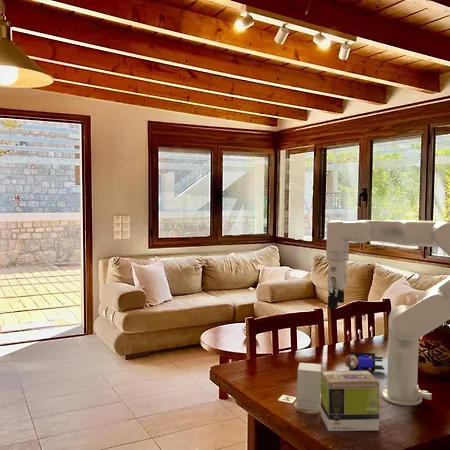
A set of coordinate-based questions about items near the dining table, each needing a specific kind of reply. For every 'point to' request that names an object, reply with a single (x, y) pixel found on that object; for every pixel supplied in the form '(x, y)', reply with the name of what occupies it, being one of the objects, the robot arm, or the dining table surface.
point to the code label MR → (287, 399)
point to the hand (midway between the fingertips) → (336, 305)
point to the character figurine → (363, 361)
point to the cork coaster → (306, 410)
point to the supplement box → (309, 386)
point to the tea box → (350, 400)
